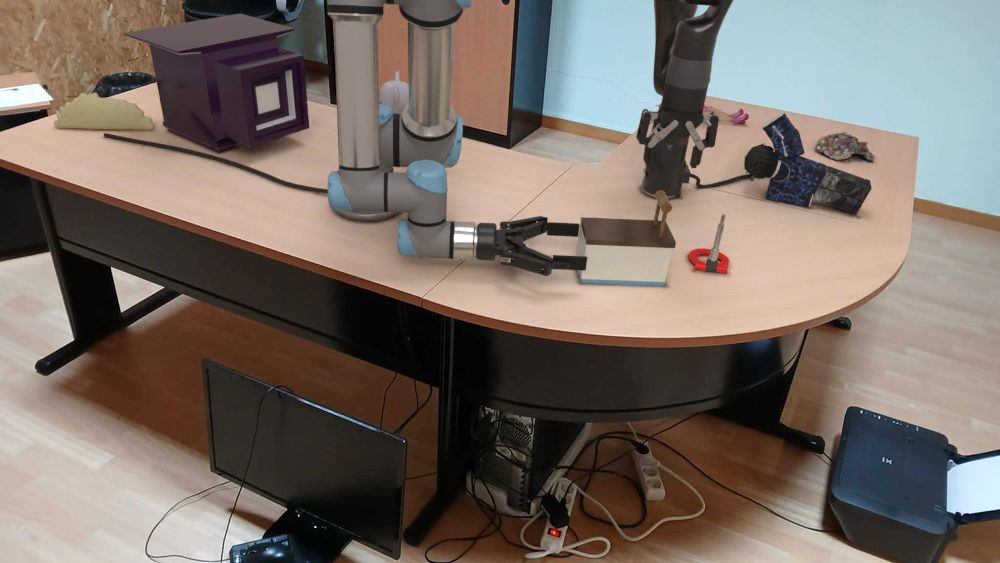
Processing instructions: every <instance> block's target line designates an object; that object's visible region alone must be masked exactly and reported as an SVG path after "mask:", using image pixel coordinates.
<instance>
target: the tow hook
mask: <svg viewBox="0 0 1000 563" xmlns="http://www.w3.org/2000/svg"><path fill="white" fill-rule="evenodd" d="M725 221H726V214H725V213H722V214H721V217H720V221H719V222H718V224H717V227H716V228H717V229H716V233H715V236H714V239H713V240H714V241H713V245H712V247H711V248H704V247H703V248H702V247H701V248H694V249H692V250H690V252H689V253H688V259H689V261H690V262H691V263H693V264H694V267H693V268H694V270H699V271H705V272H712V273H722V274H727V273H728V270H729V269H728V267H729V264H730V258H729V257H728V256H727V255H725V254H724V253H722V252H720V244H721V240H722V236H723V233H724V229H725ZM700 255H708V257H707V258H706V262H705V261H704V260H701V259H700V258H698V257H697V256H700ZM719 260H720V262H719Z"/></svg>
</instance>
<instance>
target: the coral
mask: <svg viewBox="0 0 1000 563" xmlns="http://www.w3.org/2000/svg"><path fill="white" fill-rule="evenodd" d="M815 150H816V151H817V152H818V153H824V155H825V156H827V157H828V158H830V159H832V160H835V161H839V160H840V161H841V160H844V159H848V158H851V157H852V155H853V154H854V155H857V154H859V155H860V156H861V158H863V159H865V160H866V161H871V162H874V160H875V159H874V158H875V155H874V154H873V153H872V152H871V151H870V149H869V147H868V142H867V141H859V139H858V137H855V136H853V135H852V134H851V133H849V132H848V131H846V132H844V131H843V132H836V133H830V134H827V135H826V136H822V137H820V138H819V140H818V141H817V142H816V144H815ZM873 157H874V158H873Z"/></svg>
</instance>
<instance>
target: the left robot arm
mask: <svg viewBox="0 0 1000 563" xmlns="http://www.w3.org/2000/svg"><path fill="white" fill-rule="evenodd" d="M326 4H327V5H326V6H327V16H329V18H330V19H331V20H332V21H333V36H334V37H333V38H334V59H335V60H334V61H335V62H334V63H335V64H334V66H335V90H336V92H335V93H336V96H335V97H336V121H337V122H336V125H337V148H338V153H337V154H338V170H332V171H330V173H329V174H328V179H327V188H323V187H322V188H321V187H315V186H308V185H305V184H304V185H303V184H299V183H294V182H290V181H288V180H283V179H281V178H279V177H276V176H274V175H271V174H269V173H266V172H264V171H261V170H259V169H256V168H253V167H251V166H248V165H245V164H243V163H239V162H236V161H233V160H230V159H228V158H224V157H222V156H221V157H220V156H217V155H213V154H210V153H206V152H203V151H198V150H193V149H190V148H186V147H185V148H184V147H181V146H174V145H170V144H166V143H159V142H155V141H154V142H153V141H148V140H144V139H137V138H132V137H126V136H121V135H117V134H112V133H107V132H104V133H103V137H105V138H109V139H115V140H119V141H125V142H130V143H135V144H140V145H146V146H151V147H157V148H162V149H168V150H171V151H176V152H177V151H178V152H181V153H187V154H191V155H196V156H199V157H203V158H207V159H211V160H214V161H218V162H221V163H225V164H227V165H231V166H233V167H237V168H240V169H242V170H245V171H248V172H250V173H253V174H256V175H259V176H261V177H263V178H266V179H269V180H271V181H273V182H276V183H277V184H280V185H283V186H286V187H291V188H295V189H299V190H304V191H308V192H309V191H310V192H315V193H323V194H327V201H328V205H329V207H330V208H331V209H332V210H334V211H335V212H336V213H337V214H338V215H339V216H341V217H343V218H345V219H347V220H353V221H357V222H377V221H378V222H379V221H383V220H387V219H391V218H392V217H394V216H396V215H397V214H399V213H407V217H406V218H402V219H400V220H398V223H397V227H396V251H397V253H398V254H399V255H400V256H401V257H407V258H417V259H449V260H459V261H463V260H464V261H465V260H466V261H467V260H468V261H473V260H474V258H476V260H477V261H480V262H481V261H484V262H493V261H495V260H496V256H500V265H501V266H507V267H513V268H516V269H520V270H524V271H527V272H530V273H534V274H537V275H540V276H543V277H549V276H551V275H552V272H553V270H561V271H578V270H583V271H586V265H587V257H586V256H576V255H563V254H562V255H561V254H553V255H552V257H551V256H549V255H547V254H545V253H542V252H539V251H537V250H536V249H533V248H531V247H528V246H527V245H526V243H525V241H527V240H530V239H532V238H535V237H538V236H541V235H543V234H546V236H549V237H550V236H553V237H575V238H576V237H577V238H578V236H579V229H580V223H575V222H555V221H551V222H550V221H548V219H549V218H548V217H547V216H542V215H539V216H538V215H537V216H533V217H527V218H522V219H517V220H511V221H500V222H499V229H498V228H497V227H498V226H497V224H496V223H495V222H479V223H477V224H476V223H475V222H474V221H455V220H454V221H453V220H447V208H448V207H447V206H448V205H447V203H448V172H447V169H449V168H453V167H455V166H456V165H457V163H458V162H459V159H460V156H461V151H462V142H463V133H464V123H463V117H462V116H460V115H459V114H458V115H457V113H456V112H457V111H456V110H455V108H454V106H452V104H451V98H452V97H451V96H452V78H453V77H452V75H453V56H454V35H455V34H454V33H455V24H456V23H458V21H460V20H461V18H462V16H463V13H464V10H466V9H468V8H469V9H470V7H472V5H473V2H472V0H326ZM384 5H395V6H398V9H399V13H400V15H401V16H402V18H403V19H404V20H405V21H407V59H408V60H407V61H408V64H407V66H408V68H407V69H408V71H407V72H408V85H409V103H408V104H407V105H406V106H405V108H404V110H403V113H402V114H394V113H393V110H392V108H391V107H390V106H388V105H386V104H381V103H379V91H380V88H379V86H380V80H379V78H380V77H379V75H380V74H379V73H380V72H379V23H380V21H381V20H382V19H383V18H384ZM394 168H406V172H398V171H397V172H396V171H395V172H394Z"/></svg>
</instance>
